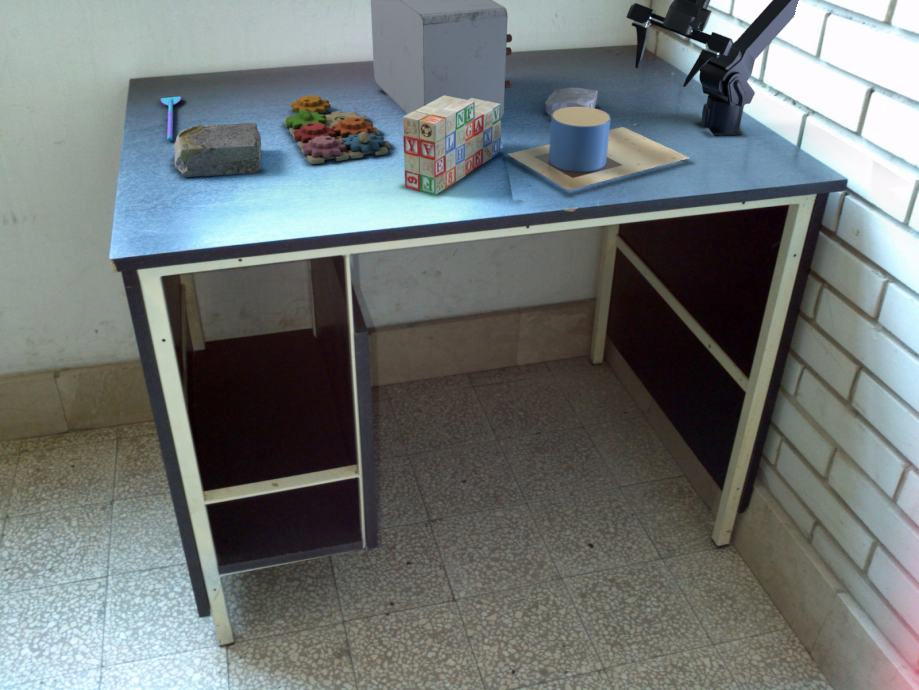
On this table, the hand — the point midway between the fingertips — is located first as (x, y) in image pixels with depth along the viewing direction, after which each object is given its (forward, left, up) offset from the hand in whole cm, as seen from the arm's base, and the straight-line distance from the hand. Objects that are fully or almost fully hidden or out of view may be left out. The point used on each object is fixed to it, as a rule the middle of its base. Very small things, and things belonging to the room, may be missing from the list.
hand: (660, 77), depth 159 cm
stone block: (+13, -16, -12) cm, 24 cm away
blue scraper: (+92, -13, -12) cm, 94 cm away
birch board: (+12, +9, -12) cm, 19 cm away
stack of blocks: (+37, +13, -12) cm, 41 cm away
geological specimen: (+78, +10, -12) cm, 80 cm away
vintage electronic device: (+39, -20, -12) cm, 46 cm away
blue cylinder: (+16, +12, -11) cm, 22 cm away
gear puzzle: (+60, -6, -12) cm, 62 cm away
